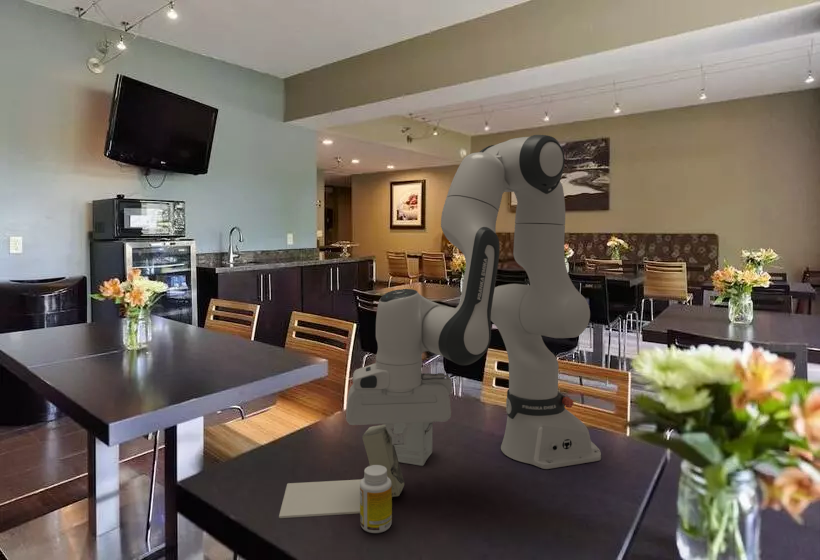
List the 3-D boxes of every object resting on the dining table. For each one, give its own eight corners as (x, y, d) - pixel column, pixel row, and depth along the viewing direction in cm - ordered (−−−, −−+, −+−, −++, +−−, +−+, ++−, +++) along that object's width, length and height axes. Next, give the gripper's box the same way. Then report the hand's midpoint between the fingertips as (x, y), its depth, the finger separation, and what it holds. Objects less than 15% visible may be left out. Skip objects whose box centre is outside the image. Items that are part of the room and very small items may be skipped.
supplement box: (424, 466, 112) (424, 410, 111) (392, 461, 115) (392, 407, 113) (433, 452, 119) (433, 400, 118) (403, 448, 121) (403, 396, 120)
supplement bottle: (398, 525, 90) (398, 469, 89) (375, 538, 86) (374, 480, 85) (376, 513, 94) (376, 459, 93) (353, 525, 90) (353, 470, 89)
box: (399, 497, 97) (382, 432, 97) (378, 500, 98) (360, 436, 98) (405, 483, 102) (389, 422, 102) (385, 486, 103) (368, 426, 103)
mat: (375, 480, 106) (375, 478, 106) (378, 512, 94) (378, 510, 94) (287, 485, 104) (287, 483, 104) (279, 518, 92) (278, 516, 92)
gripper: (448, 368, 102) (448, 435, 104) (346, 371, 100) (346, 439, 101) (455, 377, 96) (454, 448, 97) (345, 380, 94) (346, 453, 95)
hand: (398, 443), depth 99 cm, fingers closed
